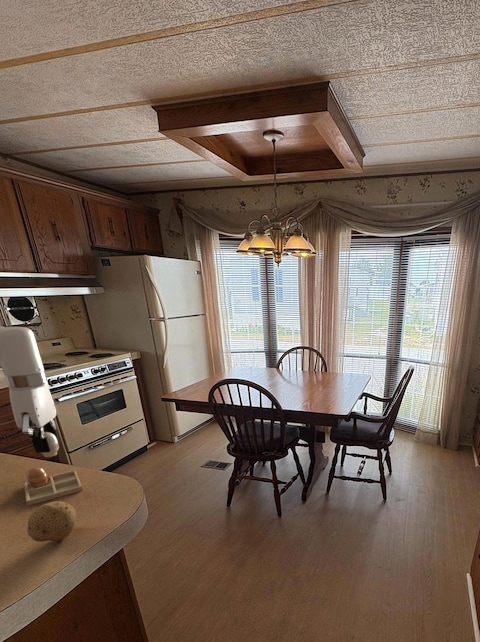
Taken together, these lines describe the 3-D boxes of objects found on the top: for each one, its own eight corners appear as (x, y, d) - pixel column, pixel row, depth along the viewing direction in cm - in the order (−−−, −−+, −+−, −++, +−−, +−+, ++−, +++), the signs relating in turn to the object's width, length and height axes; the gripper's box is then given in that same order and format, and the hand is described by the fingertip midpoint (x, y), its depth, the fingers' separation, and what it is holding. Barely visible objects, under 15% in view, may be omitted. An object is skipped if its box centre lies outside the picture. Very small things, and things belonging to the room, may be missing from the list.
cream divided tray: (28, 506, 93) (26, 501, 92) (25, 487, 101) (24, 482, 101) (83, 491, 100) (81, 486, 100) (76, 474, 109) (75, 469, 109)
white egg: (39, 459, 88) (31, 437, 86) (41, 453, 91) (34, 431, 89) (60, 456, 90) (53, 434, 88) (61, 450, 94) (55, 428, 91)
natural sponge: (49, 558, 76) (36, 521, 72) (25, 546, 79) (11, 510, 75) (89, 534, 83) (79, 499, 80) (66, 524, 87) (55, 490, 83)
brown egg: (27, 491, 99) (20, 472, 96) (35, 484, 103) (29, 465, 100) (45, 490, 100) (38, 471, 97) (52, 482, 104) (46, 464, 101)
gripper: (27, 372, 90) (47, 436, 97) (-14, 389, 75) (13, 463, 82) (60, 372, 91) (77, 434, 98) (26, 388, 76) (49, 461, 83)
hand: (48, 447), depth 90 cm, fingers closed on white egg, 4 cm apart
